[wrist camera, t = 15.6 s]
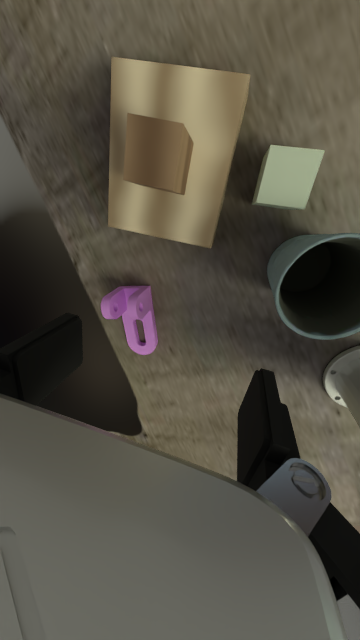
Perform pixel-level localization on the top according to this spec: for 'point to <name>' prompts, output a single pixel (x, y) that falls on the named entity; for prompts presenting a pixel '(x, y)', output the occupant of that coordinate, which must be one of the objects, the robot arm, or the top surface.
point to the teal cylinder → (318, 284)
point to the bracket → (133, 315)
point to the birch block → (205, 131)
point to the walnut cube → (157, 153)
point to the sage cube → (287, 177)
